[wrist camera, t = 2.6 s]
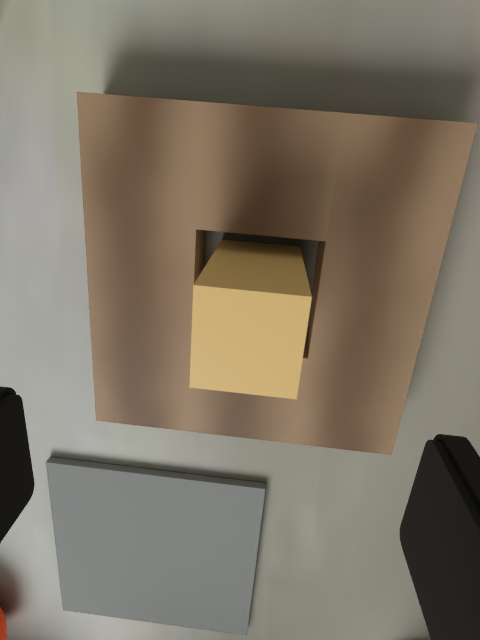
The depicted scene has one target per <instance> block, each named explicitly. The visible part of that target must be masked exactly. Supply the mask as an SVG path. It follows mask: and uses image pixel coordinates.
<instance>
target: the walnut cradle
mask: <svg viewBox="0 0 480 640" xmlns="http://www.w3.org/2000/svg"><path fill="white" fill-rule="evenodd" d="M77 105H78V122H79V139H80V156H81V173H82V190H83V207H84V224H85V241H86V258H87V275H88V292H89V309H90V326H91V343H92V360H93V377H94V394H95V411H96V421H105V422H113V423H122V424H131V425H139V426H148V427H156V428H165V429H173V430H182V431H191V432H199V433H208V434H216V435H225V436H234V437H242V438H251V439H259V440H268V441H276V442H285V443H294V444H302V445H311V446H319V447H328V448H337V449H345V450H354V451H362V452H371V453H379V454H388V455H392V451H393V447H394V443H395V440H396V436H397V432H398V428H399V424H400V420H401V417H402V413H403V409H404V405H405V401H406V397H407V393H408V390H409V386H410V382H411V378H412V374H413V370H414V367H415V363H416V359H417V355H418V351H419V347H420V344H421V340H422V336H423V332H424V328H425V324H426V321H427V317H428V313H429V309H430V305H431V301H432V297H433V294H434V290H435V286H436V282H437V278H438V274H439V271H440V267H441V263H442V259H443V255H444V251H445V248H446V244H447V240H448V236H449V232H450V228H451V224H452V221H453V217H454V213H455V209H456V205H457V201H458V198H459V194H460V190H461V186H462V182H463V178H464V175H465V171H466V167H467V163H468V159H469V155H470V152H471V148H472V144H473V140H474V136H475V132H476V128H477V125H478V123H468V122H455V121H443V120H430V119H417V118H404V117H392V116H379V115H366V114H353V113H341V112H328V111H315V110H302V109H290V108H277V107H264V106H251V105H239V104H226V103H213V102H200V101H188V100H175V99H162V98H149V97H137V96H124V95H111V94H98V93H85V92H77ZM205 230H208V231H219V232H229V233H240V234H251V235H261V236H272V237H283V238H294V239H304V240H315V241H319V244H318V251H317V257H316V264H315V271H314V278H313V285H312V291H311V295H312V300H311V307H310V313H309V320H308V327H307V334H306V340H305V347H304V354H303V360H302V367H301V374H300V380H299V387H298V394H297V399H288V398H279V397H270V396H261V395H252V394H243V393H234V392H225V391H216V390H207V389H198V388H189V385H190V359H191V332H192V306H193V285H194V283H195V282H196V280H197V278H198V277H199V275H200V274H201V272H202V270H203V263H204V241H205Z"/></svg>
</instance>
